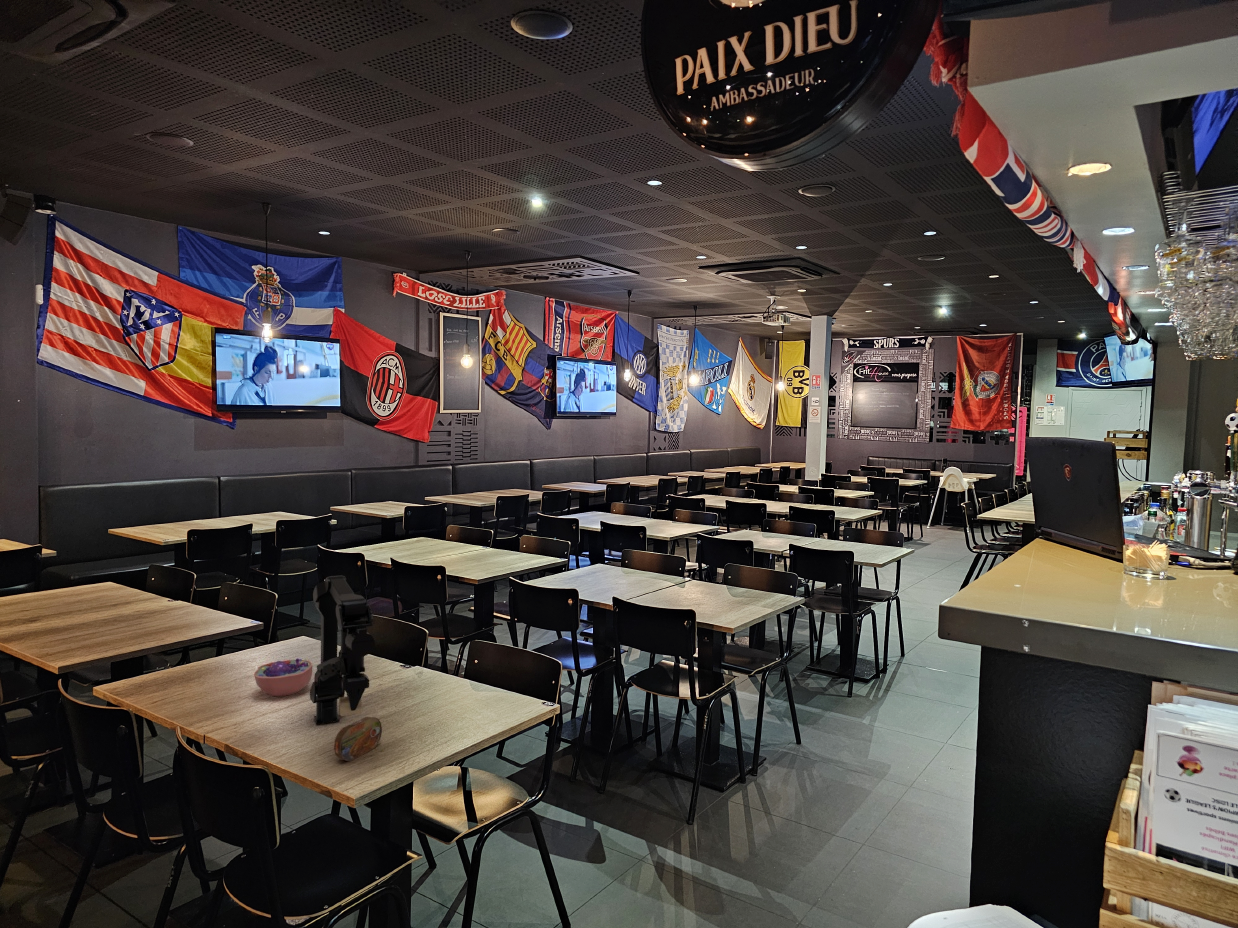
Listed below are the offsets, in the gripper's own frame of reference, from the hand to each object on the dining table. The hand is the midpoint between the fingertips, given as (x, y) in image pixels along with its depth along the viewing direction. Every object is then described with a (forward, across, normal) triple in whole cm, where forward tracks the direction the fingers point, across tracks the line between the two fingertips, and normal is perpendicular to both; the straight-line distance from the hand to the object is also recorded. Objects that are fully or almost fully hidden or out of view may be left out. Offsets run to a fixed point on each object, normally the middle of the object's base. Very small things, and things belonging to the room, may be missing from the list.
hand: (352, 706), depth 191 cm
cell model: (+12, -57, -15) cm, 60 cm away
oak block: (+1, 0, 0) cm, 1 cm away
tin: (+13, 0, +2) cm, 13 cm away
